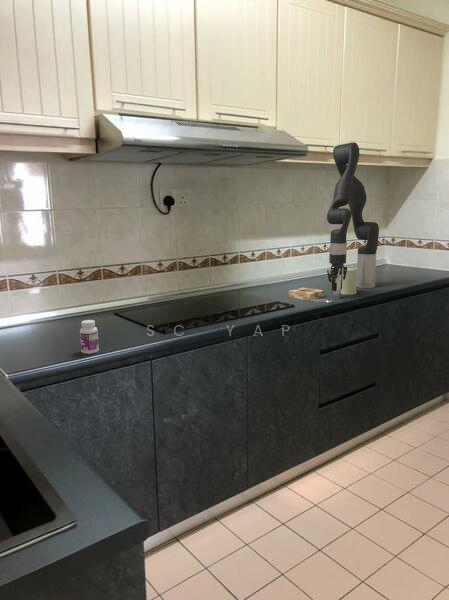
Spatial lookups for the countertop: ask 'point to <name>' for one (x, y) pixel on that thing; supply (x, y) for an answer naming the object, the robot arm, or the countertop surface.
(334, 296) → the pin
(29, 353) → the countertop surface
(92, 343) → the pill bottle
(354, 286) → the can
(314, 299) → the bar
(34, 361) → the countertop surface
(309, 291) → the socket block
